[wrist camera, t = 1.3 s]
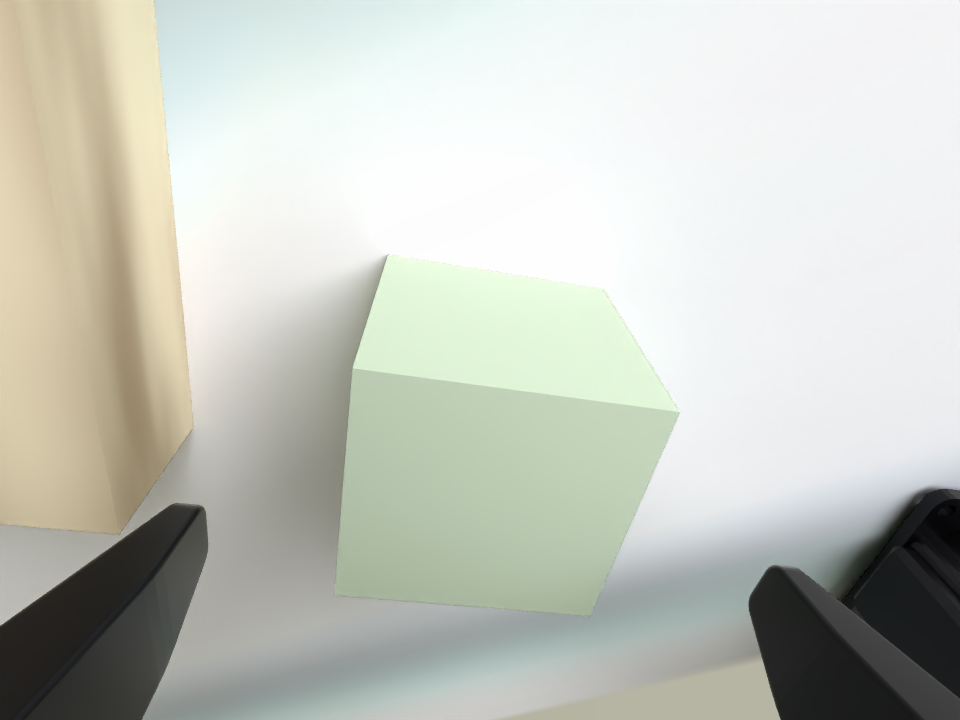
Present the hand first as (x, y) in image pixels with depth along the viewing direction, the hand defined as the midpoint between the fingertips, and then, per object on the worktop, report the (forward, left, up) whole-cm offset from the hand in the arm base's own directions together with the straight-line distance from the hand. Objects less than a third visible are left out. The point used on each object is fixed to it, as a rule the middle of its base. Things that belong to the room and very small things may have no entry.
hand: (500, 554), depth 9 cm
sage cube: (0, 0, -6) cm, 6 cm away
